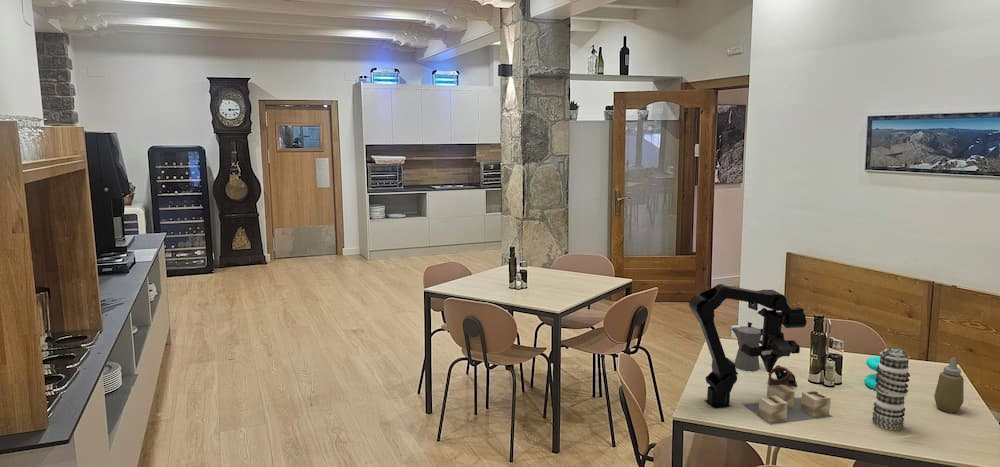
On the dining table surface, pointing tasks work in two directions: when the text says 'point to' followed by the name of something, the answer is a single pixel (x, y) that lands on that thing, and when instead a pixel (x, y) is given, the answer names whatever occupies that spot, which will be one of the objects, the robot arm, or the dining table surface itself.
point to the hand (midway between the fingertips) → (768, 372)
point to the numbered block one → (773, 409)
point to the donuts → (871, 379)
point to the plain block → (782, 394)
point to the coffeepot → (747, 336)
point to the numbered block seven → (815, 403)
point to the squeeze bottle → (950, 388)
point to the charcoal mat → (792, 414)
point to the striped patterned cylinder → (891, 389)
